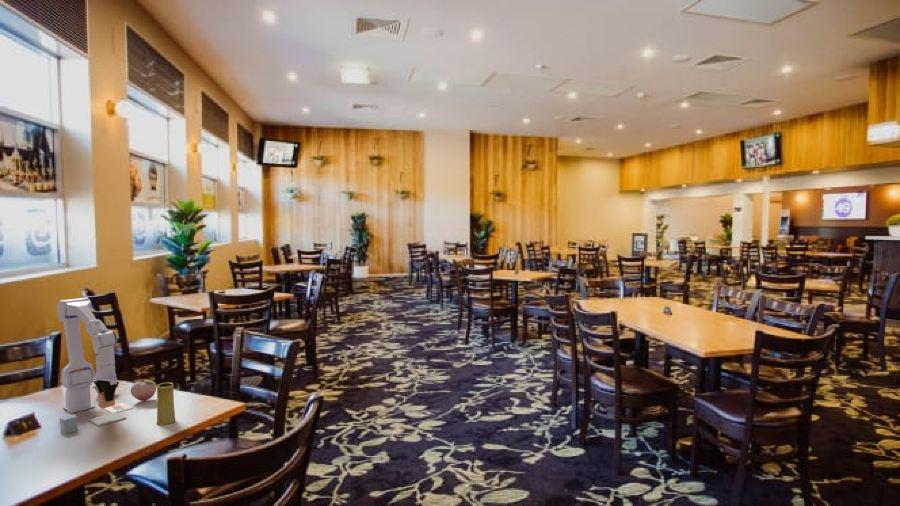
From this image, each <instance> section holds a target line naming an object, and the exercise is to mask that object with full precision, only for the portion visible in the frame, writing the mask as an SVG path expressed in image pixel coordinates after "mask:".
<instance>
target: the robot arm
mask: <svg viewBox="0 0 900 506" xmlns="http://www.w3.org/2000/svg"><path fill="white" fill-rule="evenodd" d="M56 315H57V319H58V322H62V323H63V328H64V334H65V335H64V336H65V341H66V343H65V344H66V349H67V358H68V363H67V364H66V365H65V367H63V368H62V369H61V376H60V377H61V378H60V381H61V385H62V386H63V388H65V406H62V408H63V409H64V410H66V411H67V412H69V413H71V414H75V413H77V412H81V411H84V410H85V411H86V410H89V409H93V408H95V407H96V406H95V405H94V404H93V403H92V402H91V401H92V400H91V399H92V398H91V386H92V385H93V383H94V385H95V386H97V388H98V391H99V393H101V392H104V396H105V400H106V402H108V401H112V400H113V398H114V396H115V393H116V391H117V388H118V387H119V384H120V382H119V381H118V378H117V374H116V360H115V346H116V345H117V343H118V335H117V333H116V332H115V330H111V329H108V328H107V327H106V325H105V324H104V322H103V321H102V320H100V319H98V318H96V317H95V315H94V314H93V312H92V302H91V300H90V298H89V297H87V296H86V297H79V298H71V299H60V300H59V301H58V302H57V305H56ZM80 321H82V322H83V324H85V326H84V330H85V331H86V333H87V334H88V335H89V336H90V339H91V343H92V347H93V351H94V352H93V353H94V354H95V367H96V368H95V369H96V371H95V370H94V366H93V364H92V363H91V362H88V361H86V359H85V355H84V348H83V343H82V342H83V341H82V335H81V326H80ZM117 386H118V387H117Z"/></svg>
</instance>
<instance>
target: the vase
mask: <svg viewBox="0 0 900 506" xmlns="http://www.w3.org/2000/svg"><path fill="white" fill-rule="evenodd" d="M174 393H175V392H174V383H173V382H163V383H159V384H156V398H157V403H156V408H157V409H156V425H157V426H167V425H171V424H174V423H175V422H176V412H175V411H176V410H175V402H174V401H175V400H174Z"/></svg>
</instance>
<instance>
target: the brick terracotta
mask: <svg viewBox="0 0 900 506" xmlns="http://www.w3.org/2000/svg"><path fill="white" fill-rule="evenodd" d="M115 399H116V398H115V395H114V398H113V400H112V401H108V402H106V400H105V396H104V392H101V393H97V400H98V403H97V404H98V407H99V408H101V409H103V408H107V407H111V406H114V405H115V404H116V402H115V401H116V400H115Z"/></svg>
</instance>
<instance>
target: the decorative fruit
mask: <svg viewBox="0 0 900 506" xmlns="http://www.w3.org/2000/svg"><path fill="white" fill-rule="evenodd" d="M156 393H157V384H156V382H155V381H153V380H151V379H145V378H144V377H142V379H138V380H137V379H136V380H135V381H134V382H133V384H132V386H131V388H130V395H131V396H132V397H133V398H135V399H136V400H138V401H141V402H146V401H148V400H150V399H151V398H152V397H153V396H154V395H155V394H156Z"/></svg>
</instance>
